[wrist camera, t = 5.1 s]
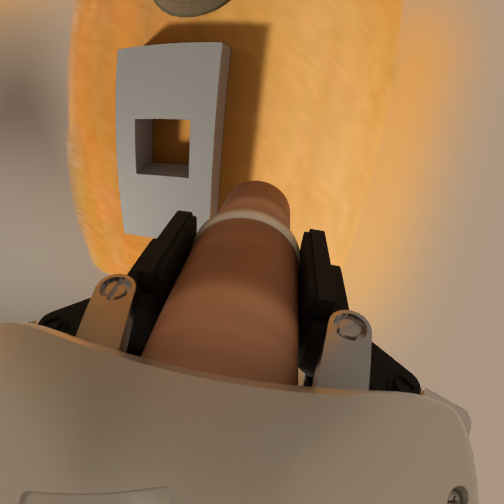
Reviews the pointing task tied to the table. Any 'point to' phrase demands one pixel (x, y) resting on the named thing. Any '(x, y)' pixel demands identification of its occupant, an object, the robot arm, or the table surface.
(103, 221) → the table surface
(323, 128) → the table surface
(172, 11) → the candlestick holder
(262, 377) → the dowel
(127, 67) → the seat board
